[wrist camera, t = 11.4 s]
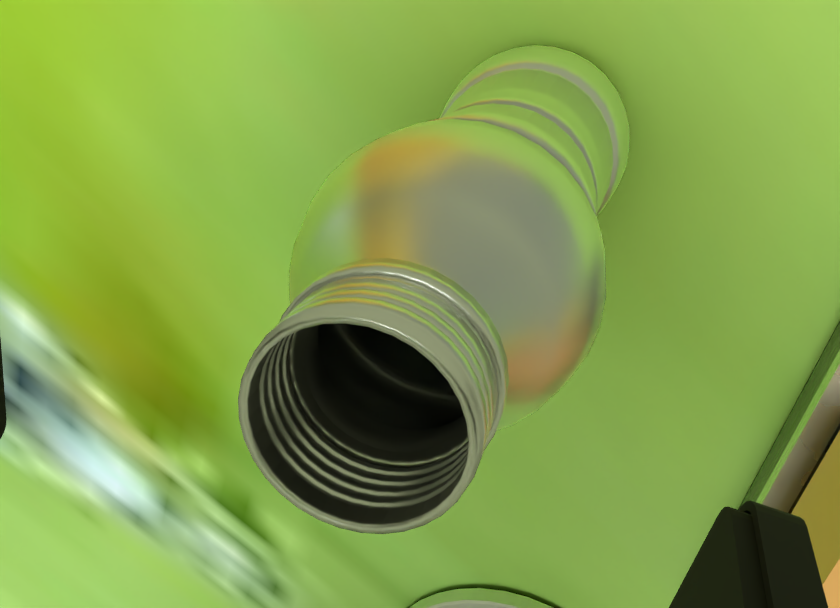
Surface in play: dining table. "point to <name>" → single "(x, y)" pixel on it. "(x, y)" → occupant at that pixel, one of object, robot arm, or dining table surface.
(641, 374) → the dining table surface
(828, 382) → the grey flat slab
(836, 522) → the orange open tray
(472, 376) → the plastic bottle
